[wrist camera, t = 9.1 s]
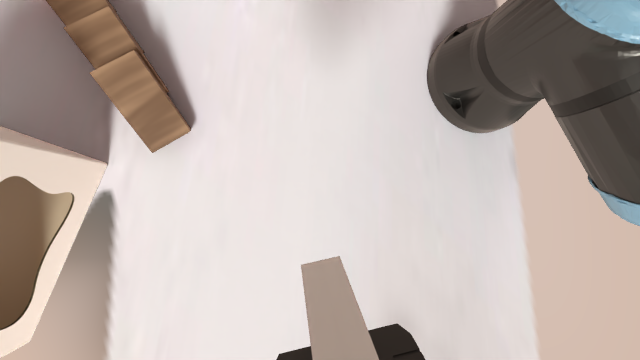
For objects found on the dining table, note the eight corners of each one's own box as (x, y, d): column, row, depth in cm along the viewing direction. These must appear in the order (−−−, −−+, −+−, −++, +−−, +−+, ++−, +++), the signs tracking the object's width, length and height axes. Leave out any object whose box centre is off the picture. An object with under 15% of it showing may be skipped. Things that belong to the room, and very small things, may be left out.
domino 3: (190, 131, 38) (133, 50, 34) (152, 153, 37) (89, 72, 33) (191, 128, 40) (137, 52, 36) (154, 149, 39) (95, 73, 35)
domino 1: (141, 51, 38) (76, -40, 33) (102, 72, 37) (31, -18, 33) (144, 52, 40) (83, -33, 35) (107, 72, 39) (41, -12, 35)
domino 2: (167, 92, 38) (108, 6, 34) (129, 112, 37) (63, 27, 33) (169, 91, 40) (113, 10, 36) (132, 111, 39) (71, 31, 35)
